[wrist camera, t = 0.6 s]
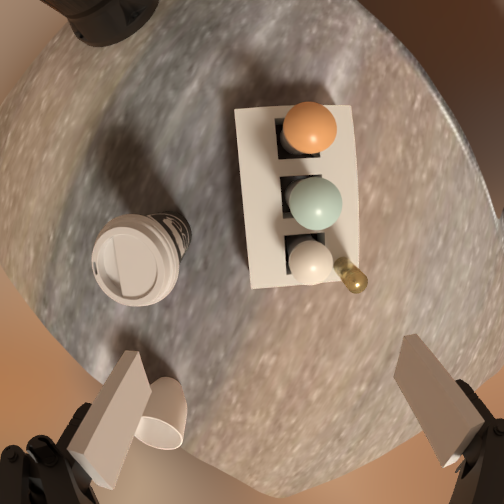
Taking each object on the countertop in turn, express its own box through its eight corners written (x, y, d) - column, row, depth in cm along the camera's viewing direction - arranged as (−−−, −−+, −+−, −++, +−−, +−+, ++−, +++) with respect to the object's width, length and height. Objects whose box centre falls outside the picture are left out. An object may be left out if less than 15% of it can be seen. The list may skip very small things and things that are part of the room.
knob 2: (279, 177, 33) (288, 178, 25) (319, 175, 33) (341, 176, 24) (282, 216, 35) (292, 232, 26) (321, 214, 35) (343, 228, 26)
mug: (166, 361, 46) (148, 410, 34) (202, 390, 47) (194, 440, 36) (130, 387, 48) (110, 431, 36) (164, 412, 50) (151, 457, 38)
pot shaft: (333, 257, 35) (347, 273, 29) (351, 256, 35) (368, 271, 29) (333, 275, 36) (347, 294, 30) (351, 273, 36) (367, 292, 30)
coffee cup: (148, 191, 38) (94, 204, 24) (211, 213, 39) (186, 238, 24) (132, 253, 40) (80, 292, 26) (191, 275, 41) (160, 327, 27)
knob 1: (274, 120, 32) (281, 102, 23) (314, 119, 31) (333, 101, 23) (278, 159, 33) (286, 154, 24) (317, 157, 33) (339, 152, 24)
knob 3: (281, 228, 39) (288, 244, 30) (315, 225, 39) (332, 241, 30) (283, 261, 40) (291, 287, 32) (316, 259, 40) (333, 282, 31)
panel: (236, 117, 35) (234, 109, 30) (339, 113, 35) (350, 105, 30) (251, 275, 41) (251, 289, 36) (347, 266, 41) (358, 278, 36)
